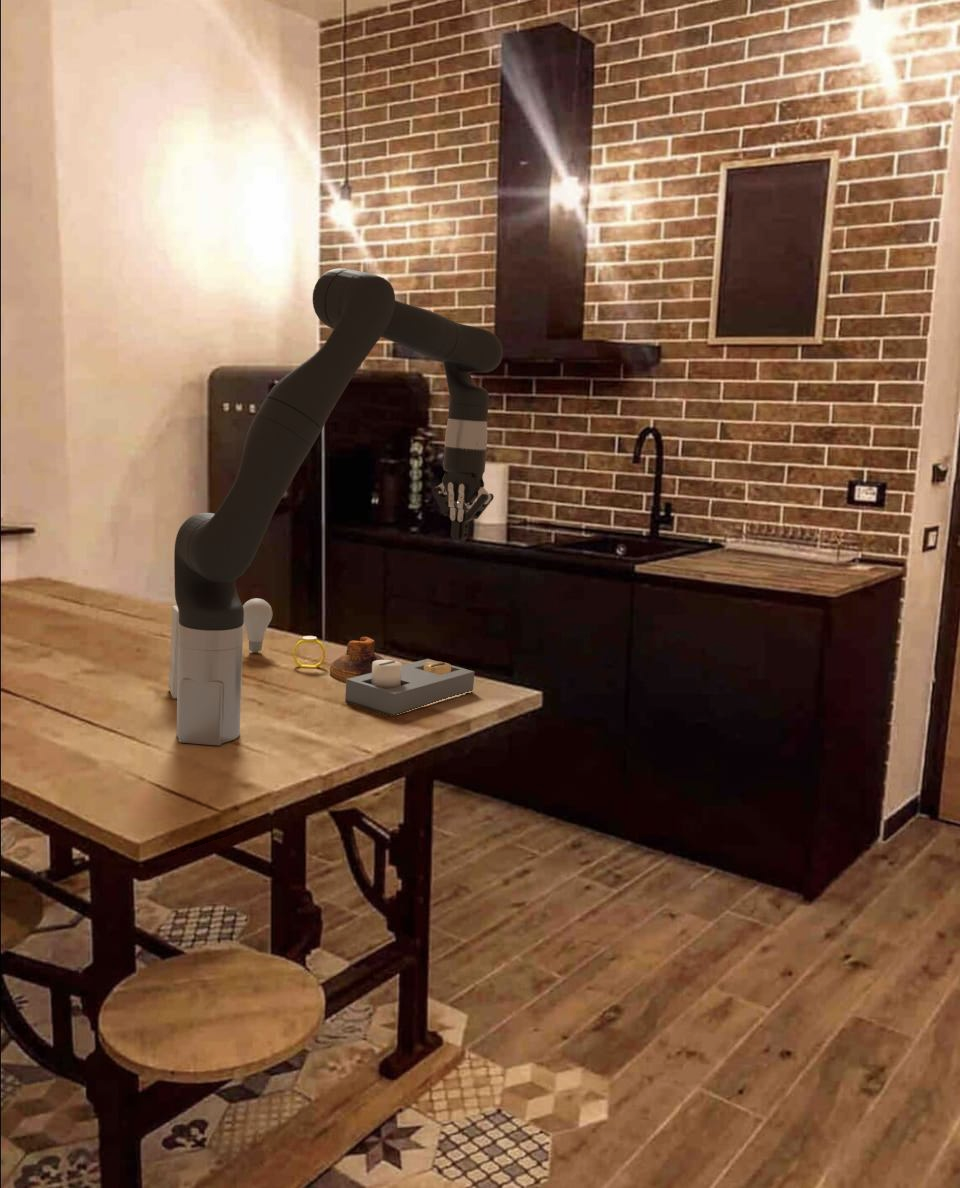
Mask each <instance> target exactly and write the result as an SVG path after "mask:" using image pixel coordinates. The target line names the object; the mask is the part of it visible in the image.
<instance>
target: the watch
mask: <svg viewBox="0 0 960 1188" xmlns="http://www.w3.org/2000/svg"><path fill="white" fill-rule="evenodd" d="M303 643H309V644H313V643H315V644H317V645H318V646H319V647H320V649H321V650H322V657H321V659H320V661H319V662H317V663H316V664H302V663H301V662H300V661H299V660H298V657H297V655H296V653H297V652H296V651H297V648H298V647H299V646H300V645H301V644H303ZM292 653H293V654H292V657H293V660H294V662H295V664H296V665H297V666H298V667H299V668H304V669H317V668H319V667H320V666H321V665H322V664H323V662H324V660H325V658H326V648H325V647H324V645H323V642H322V641H320V640H318V637H317V636H314V635H304V636H302V638H301V639H300V640H299V641H297V643H296V644H295V645H294V647H293V652H292Z"/></svg>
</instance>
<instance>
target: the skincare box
mask: <svg viewBox="0 0 960 1188" xmlns="http://www.w3.org/2000/svg"><path fill="white" fill-rule="evenodd" d="M171 613H172V614H171V615H172V616H171V631H170V655H169V672H168V674H169V675H168V689H169V692H170V694H171V697H172V699H177V685H178V644H179V611H178V607H177V605H172V606H171Z"/></svg>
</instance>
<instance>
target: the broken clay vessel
mask: <svg viewBox="0 0 960 1188" xmlns="http://www.w3.org/2000/svg"><path fill="white" fill-rule="evenodd" d="M375 647H376V645H375V640H374V639H372V638H370V637H368V636H362V637H360V638H359V640H350V641H349V642H348V643H347V646H346V652H345V654H343V655H341V656H340V657H338V658H337V659H335V660H334V661H333V662H331V663H330V666H329V674H330V675H331V677H333V678H335V679H336V680H338V681H342V682H346V679H349V678H353V677H357V676H361V675H365V674H369V673H372V663H373V661H376V660H386V659H385V658H383V657H382V656H380V655H379V654H376V653H375V649H376V648H375Z"/></svg>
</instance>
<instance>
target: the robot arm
mask: <svg viewBox="0 0 960 1188" xmlns="http://www.w3.org/2000/svg"><path fill="white" fill-rule="evenodd" d="M312 291H313V292H312V306H313V310H314V313H315V314H316V316H317V318H318V319H319V320H320V321H321V323H323V324H324V325H325V326H327V327H328V328H330V329H333V330H332V332H331V333H330V334H329V336H328V338H327V340H326V341H325V342H324V344H323V345H322V346H321V347H320V348H319V350H317V351H316V352H315V353H314V354H313V355H312V356H310V357H309V358H307V360H305V361H303V362H302V363H301V364H300V365H299V366H297V367H296V368H294V369H293V370H291V371H290V372H288V373H287V374H285V376H284V377H282V378H281V379H280V380H279V381H278V382H276V384H275V385H273V387H272V388H271V389H270V391H269V393H268V394H267V395H266V397H265V399H264V400H263V402H262V404H261V406H260V407H259V409H258V411H257V412H256V414H255V416H254V417H253V419H252V421H251V422H250V425H249V428H248V430H247V433H246V435H245V437H246V438H245V439H244V441H245V442H244V445H243V449H242V450H243V451H242V455H241V460H240V465H239V470H238V472H237V475H236V477H235V480H234V482H233V483H232V486H231V488H230V490H229V491H228V493H227V495H226V496H225V498H224V499H223V501H222V503H221V505H220V506H219V507H218V509H217V510H216V512H215V513H213V512H200V513H197V514H193V515H192V516H190V517H188V518H187V519H186V520H185V521H184V522H183V523H182V524H181V525H180V527H179V528H178V531H177V534H176V538H175V540H174V541H175V542H174V551H173V552H174V555H173V556H174V557H173V558H174V559H173V560H174V565H173V569H174V572H173V573H174V575H173V576H174V597H175V598H174V599H175V603H176V606H177V607H178V611H179V644H178V685H177V698H176V699H177V700H176V736H177V738H178V742H179V743H184V744H185V743H186V744H194V745H195V744H197V745H205V746H206V745H209V746H221V745H222V744H224V743H228V742H231V741H233V740H234V741H235V740H236V739H237V738H238V737H239V736H240V734H241V708H242V707H241V706H242V704H241V703H242V702H241V701H242V677H243V676H242V675H243V674H242V673H243V650H244V649H243V647H244V608H243V605H244V604H243V603H242V601H241V600H240V597H239V595H238V591H237V586H236V579H237V578H239V577H240V576H242V575H243V574H245V572H246V571H247V569H248V568H249V567H250V566H251V564H252V562H253V560H254V558H255V556H256V554H257V552H258V550H259V547H260V545H261V543H262V541H263V537H264V536H265V534H266V531H267V529H268V527H269V524H270V522H271V520H272V519H273V516H274V514H275V512H276V509H277V507H278V505H279V504H280V502H281V501H282V498H283V497H284V495H285V494H286V492H287V490H288V489H289V487H290V485H291V483H292V482H293V480H294V479H295V476H296V474H297V473H298V471H299V469H300V467H301V466H302V463H304V461H305V459H306V458H307V456H308V454H309V453H310V451H311V449H312V448H313V446H314V445H315V442H316V441H317V439H318V437H319V436H320V433H321V431H322V430H323V428H324V426H325V425H326V422H328V421H327V420H328V419H329V417H330V415H331V413H332V411H333V410H334V409H335V406H336V404H337V403H338V401H339V399H340V398H341V396H342V395H343V393H344V391H345V390H346V389H347V387H348V385H349V383H350V381H351V380H352V379H353V377H354V375H355V373H356V372H357V371H358V369H360V366H361V365H362V364H363V362H364V361H365V360H366V358H367V357H368V356H369V354H370V352H371V351H372V350H373V349H374V347H375V346H376V344H377V343H378V342H379V340H381V338H383V339H386V340H388V341H391V342H393V343H395V344H398V345H400V346H402V347H404V348H406V349H409V350H410V351H414V352H416V353H419V354H421V355H423V356H426V357H429V358H432V359H434V360H438V361H441V362H443V367H444V371H445V377H446V383H447V389H448V395H449V401H448V413H447V415H448V416H447V418H448V419H447V424H446V428H445V437H444V438H445V439H444V451H443V466H442V467H443V471H444V475H443V477H442V479H441V481H442V482H441V483H440V484H439V485H437V486H433V487H432V488H431V493H432V496H433V497H434V500H435V502H436V503H437V505H438V507H439V509H440V511H441V513H442V515H443V516H444V517H448V518H450V520H451V527H450V538H451V540H452V541H453V542H455V543H465V542H466V540H467V539H468V536H469V525H470V524H469V523H470V522H471V521H473V520H478V519H479V518H480V516H481V515H482V514H483V513H484V512H485V510H486V509H487V507H488V506H489V505H490V504H491V502H492V501H493V500H494V499H495V498H494V494H493V493H489V492H488V491H487V490H486V489H485V482H484V479H483V476H484V473H485V472H486V461H487V459H486V458H487V447H488V446H487V445H488V417H489V416H488V414H489V405H490V404H489V403H490V395H489V391H488V390H486V388H484V387H481V386H478V385H475V383H474V382H473V378H472V374H471V373H485V374H486V373H490V372H493V371H494V370H495V369H497V368H498V367H499V366H500V364H501V363H502V359H503V355H504V351H503V346H502V345H503V344H502V343H501V340H500V339H499V337H498V336H497V335H496V334H494V333H493V332H492V331H489V330H487V329H483V328H480V327H477V326H473V325H468V324H463V323H459V322H457V321H455V320H452V319H451V318H449V317H445V316H443V315H442V314H439V313H436V312H434V311H432V310H428V309H426V308H423V307H420V306H415V305H412V304H408V303H405V302H402V301H400V300H397V299H396V294H395V293H396V292H395V291H394V287H393V286H392V284H391V283H390V282H389V280H387V279H386V278H384V277H382V276H379V275H377V274H373V273H368V272H364V271H362V270H356V269H350V268H341V267H339V268H334V269H330V270H328V271H326V272H324V273H323V274H321V276H320V277H319V278H318V279H317V281H316V283H315V285H314V288H313V290H312Z"/></svg>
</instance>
